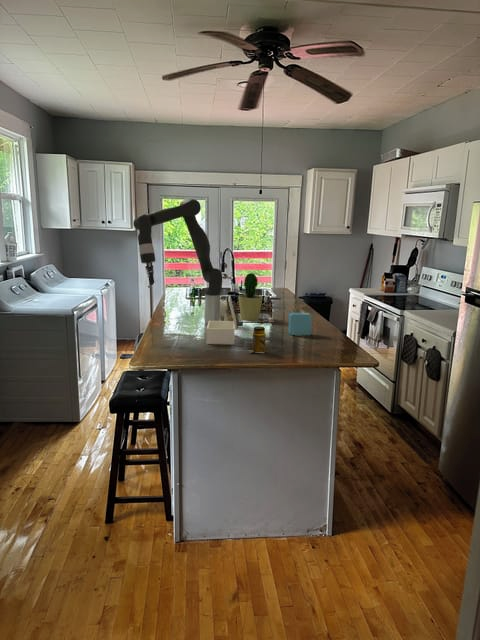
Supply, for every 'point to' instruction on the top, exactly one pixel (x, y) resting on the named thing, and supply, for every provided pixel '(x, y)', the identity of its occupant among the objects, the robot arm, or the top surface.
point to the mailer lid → (232, 311)
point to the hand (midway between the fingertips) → (152, 284)
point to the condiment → (259, 339)
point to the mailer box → (220, 332)
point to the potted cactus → (250, 300)
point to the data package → (300, 324)
